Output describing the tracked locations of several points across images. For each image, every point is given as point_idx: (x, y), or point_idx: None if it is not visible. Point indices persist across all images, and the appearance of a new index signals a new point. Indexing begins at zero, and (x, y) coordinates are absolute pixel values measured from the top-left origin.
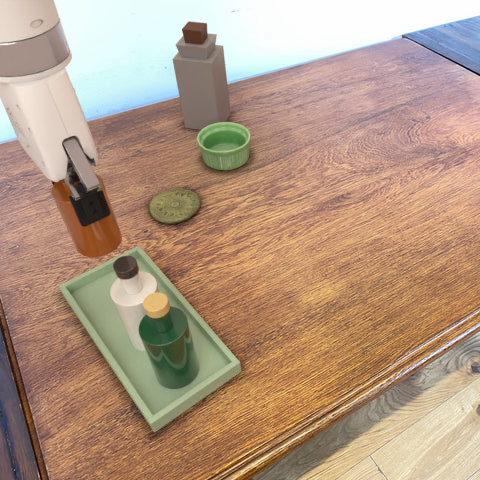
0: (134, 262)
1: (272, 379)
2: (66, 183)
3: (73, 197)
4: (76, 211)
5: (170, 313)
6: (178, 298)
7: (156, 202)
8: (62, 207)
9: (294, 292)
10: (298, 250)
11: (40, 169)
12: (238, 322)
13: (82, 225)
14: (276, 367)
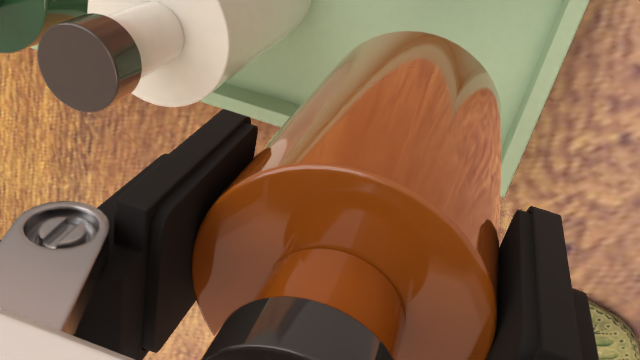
0: (60, 94)
1: (6, 58)
2: (45, 294)
3: (93, 218)
4: (170, 153)
5: (3, 25)
6: (260, 108)
7: (614, 347)
8: (315, 141)
9: None
10: (207, 340)
11: (24, 344)
12: (152, 132)
13: (224, 111)
14: (22, 84)
